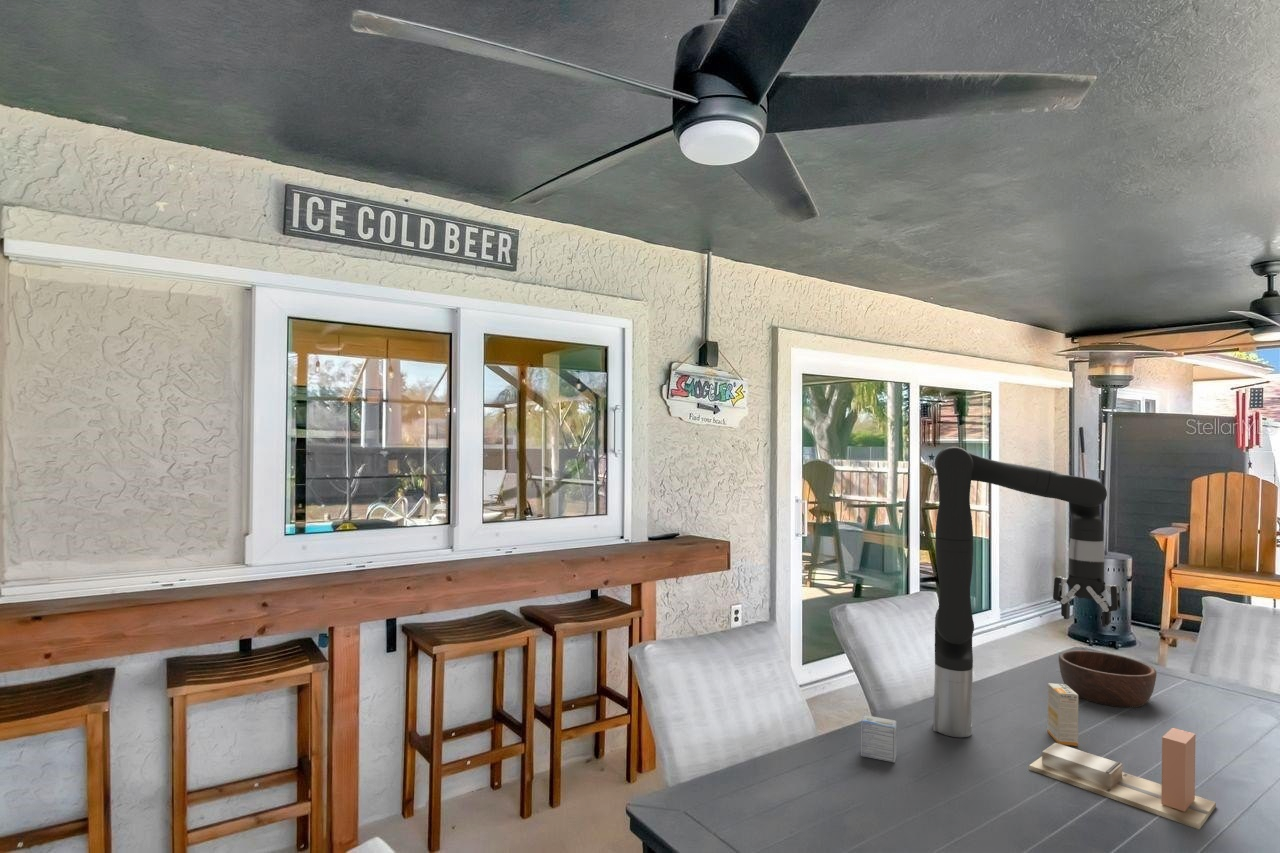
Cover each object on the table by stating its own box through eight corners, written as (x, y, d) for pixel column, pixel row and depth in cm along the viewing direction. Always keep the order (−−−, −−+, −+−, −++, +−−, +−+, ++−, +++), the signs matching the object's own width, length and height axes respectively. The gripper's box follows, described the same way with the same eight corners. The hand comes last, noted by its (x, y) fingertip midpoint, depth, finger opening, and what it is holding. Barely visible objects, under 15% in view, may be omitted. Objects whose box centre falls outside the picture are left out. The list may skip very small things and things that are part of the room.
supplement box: (1079, 746, 179) (1079, 694, 179) (1058, 744, 180) (1058, 693, 180) (1066, 733, 187) (1066, 683, 187) (1046, 731, 188) (1047, 682, 188)
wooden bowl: (1044, 679, 230) (1044, 647, 230) (1127, 684, 226) (1128, 652, 227) (1081, 708, 205) (1081, 673, 205) (1175, 715, 202) (1175, 679, 202)
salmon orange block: (1161, 803, 149) (1162, 737, 149) (1171, 792, 154) (1172, 727, 154) (1184, 811, 146) (1185, 743, 146) (1194, 799, 151) (1195, 733, 151)
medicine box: (896, 756, 172) (897, 720, 172) (895, 763, 168) (895, 727, 168) (862, 749, 175) (863, 714, 175) (860, 756, 171) (861, 720, 171)
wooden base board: (1029, 769, 166) (1029, 751, 166) (1052, 753, 175) (1052, 736, 175) (1199, 829, 141) (1199, 808, 141) (1215, 806, 150) (1216, 787, 151)
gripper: (1049, 555, 180) (1048, 618, 180) (1114, 563, 169) (1113, 631, 169) (1060, 552, 185) (1060, 614, 185) (1124, 560, 174) (1123, 626, 174)
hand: (1085, 622), depth 177 cm, fingers open, 8 cm apart
